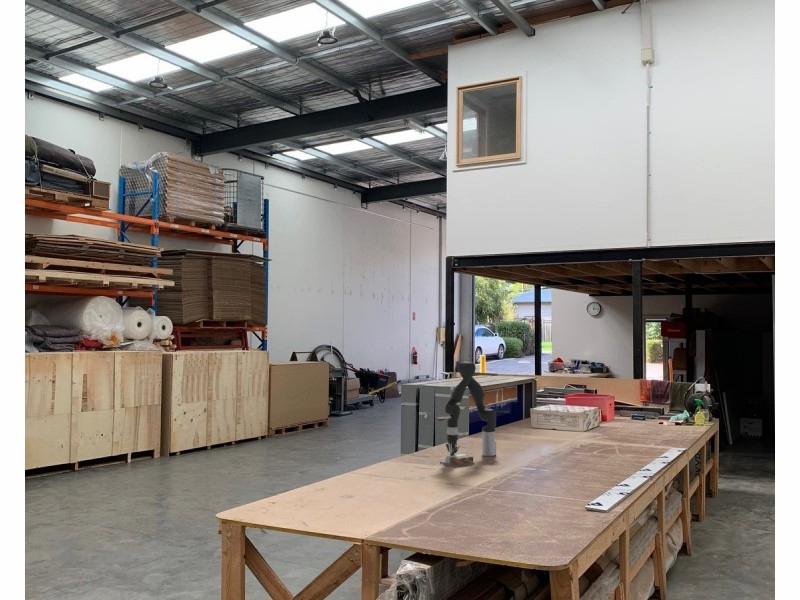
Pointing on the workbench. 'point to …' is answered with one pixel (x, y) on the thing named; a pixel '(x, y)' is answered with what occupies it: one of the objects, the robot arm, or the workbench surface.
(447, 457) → the plank
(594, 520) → the workbench surface
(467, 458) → the walnut board
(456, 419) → the robot arm
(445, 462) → the base
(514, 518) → the workbench surface
